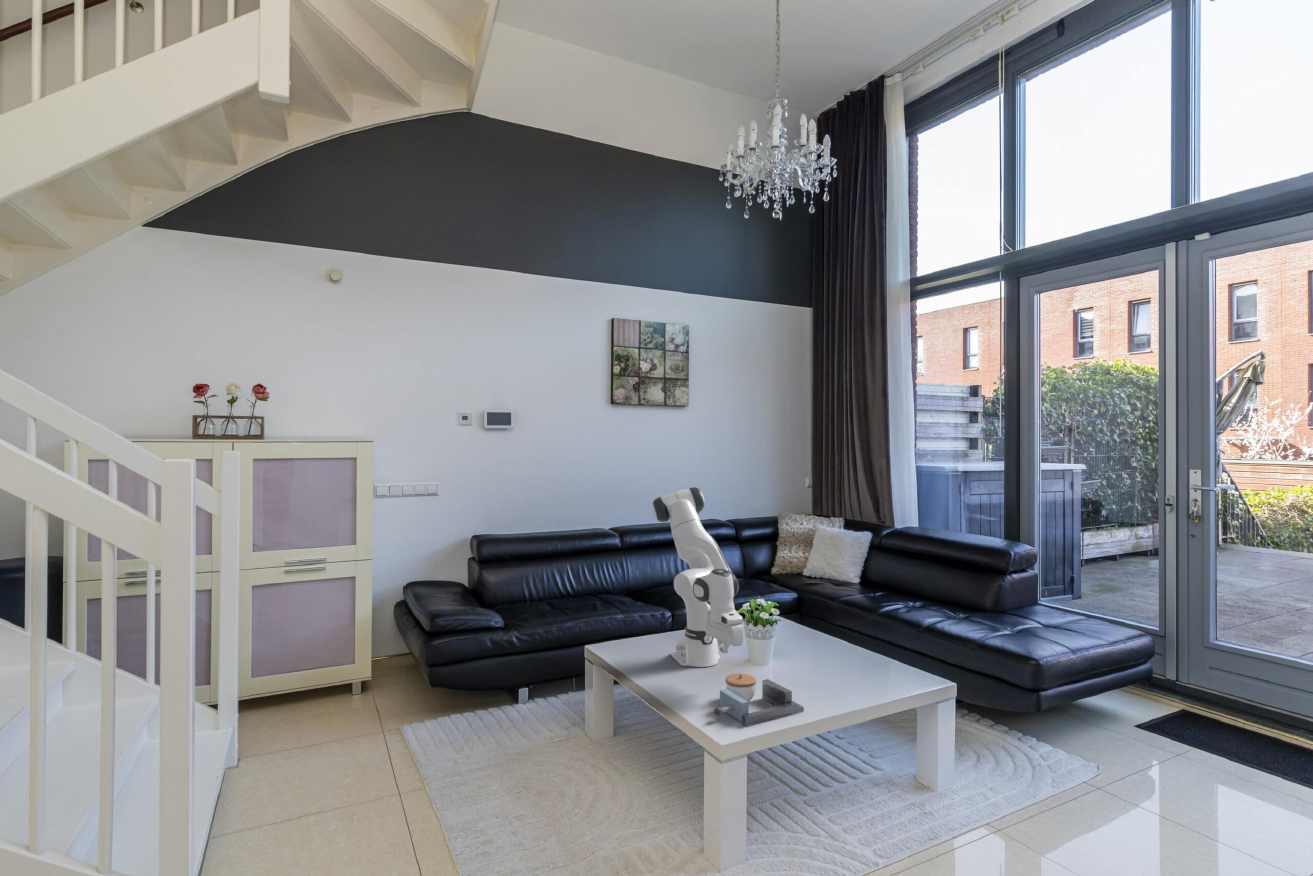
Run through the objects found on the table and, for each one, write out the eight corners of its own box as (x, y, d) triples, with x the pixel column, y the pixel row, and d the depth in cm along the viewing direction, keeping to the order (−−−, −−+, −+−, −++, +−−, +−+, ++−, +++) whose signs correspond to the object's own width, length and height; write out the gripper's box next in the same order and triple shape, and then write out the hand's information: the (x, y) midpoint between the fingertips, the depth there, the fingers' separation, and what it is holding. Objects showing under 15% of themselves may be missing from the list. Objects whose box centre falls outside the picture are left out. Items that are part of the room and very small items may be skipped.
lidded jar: (719, 700, 232) (719, 674, 232) (738, 692, 239) (738, 666, 239) (743, 709, 224) (743, 682, 224) (762, 700, 232) (762, 673, 232)
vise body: (718, 709, 224) (718, 690, 224) (774, 695, 236) (774, 677, 236) (745, 726, 211) (745, 706, 211) (803, 711, 222) (803, 692, 222)
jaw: (702, 712, 221) (702, 694, 221) (726, 706, 226) (726, 688, 226) (724, 727, 210) (723, 708, 210) (749, 720, 214) (748, 701, 214)
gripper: (700, 610, 249) (701, 646, 249) (731, 621, 231) (732, 661, 230) (714, 607, 252) (715, 644, 252) (745, 619, 234) (747, 658, 233)
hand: (723, 652), depth 241 cm, fingers closed
